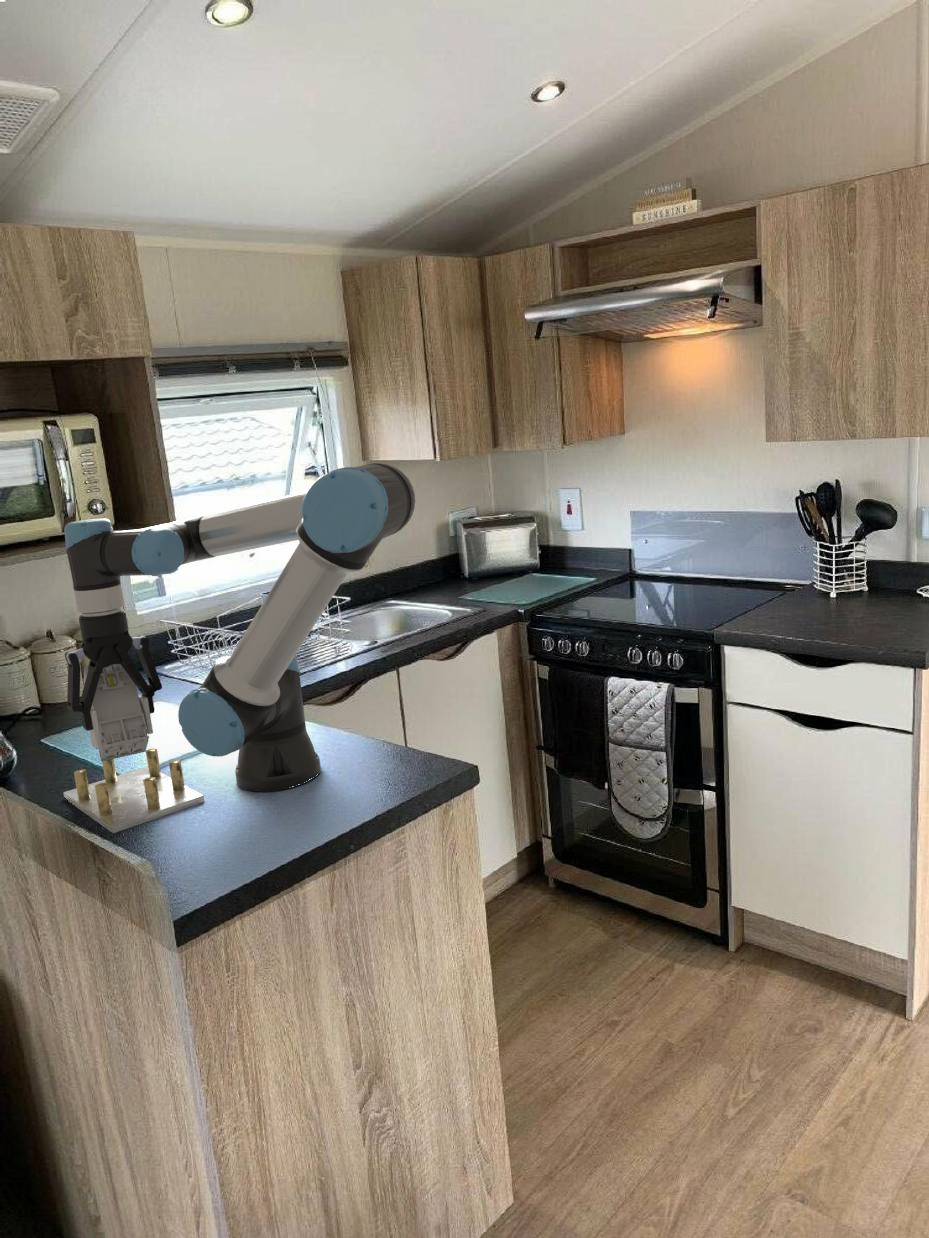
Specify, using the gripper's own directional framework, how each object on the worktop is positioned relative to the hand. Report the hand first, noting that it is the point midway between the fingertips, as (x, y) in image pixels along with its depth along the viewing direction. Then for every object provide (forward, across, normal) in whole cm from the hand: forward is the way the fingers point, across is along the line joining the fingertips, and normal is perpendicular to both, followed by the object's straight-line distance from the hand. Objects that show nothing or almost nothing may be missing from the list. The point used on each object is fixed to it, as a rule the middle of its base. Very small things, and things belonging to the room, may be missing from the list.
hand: (123, 739), depth 167 cm
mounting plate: (+11, 0, 0) cm, 11 cm away
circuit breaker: (+4, 0, -2) cm, 4 cm away
